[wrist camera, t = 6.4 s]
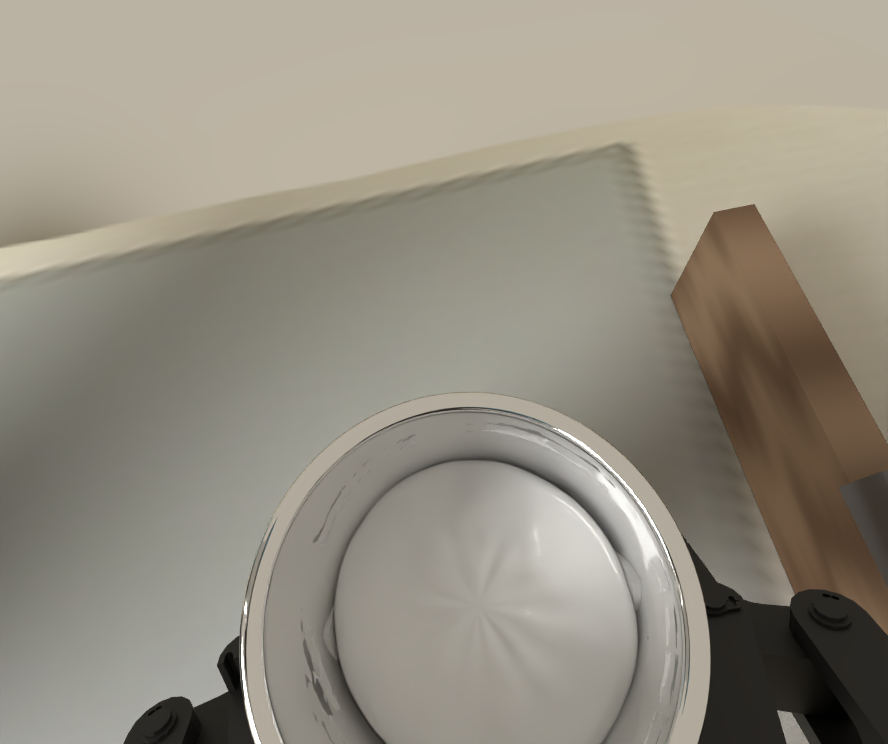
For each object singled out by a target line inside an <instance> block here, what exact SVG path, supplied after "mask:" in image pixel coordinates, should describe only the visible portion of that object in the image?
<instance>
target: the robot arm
mask: <svg viewBox="0 0 888 744" xmlns="http://www.w3.org/2000/svg"><path fill="white" fill-rule="evenodd" d="M682 537H683V539H684V541H685V543H686V545H687V548H688V550H689V552H690V555H691V557H692V560H693V563H694V566H695V568H696V572H697V575H698V578H699V581H700V585H701V589H702V593H703V597H704V601H705V606H706V612H707V618H708V625H709V632H710V645H711V681H710V694H709V703H708V709H707V715H706V720H705V725H704V730H703V734H702V738H701V742H700V744H786V740H785V737H784V733H783V730H782V726H781V723H780V719H779V716H778V712H777V710H780V711H786V712H792V714H793V716H794V717H795V719H796V721H797V723H798V724H799V726H800V728H801V729H802V731H803V733H804V735H805V736H806V738H807V740H808V741H809V743H810V744H888V635H887V634H886V633H885V632H884V631H883V629H882V628H881V627H880V626H879V625H878V624H877V623H876V622H875V620H874V619H873V618H872V617H871V616H870V615H869V614H868V613H867V612H866V611H865V610H864V609H863V608H862V607H861V606H859V605H858V604H857V603H856V602H855V601H853V600H851V599H849V598H847V597H845V596H843V595H841V594H838V593H835V592H831V591H827V590H820V589H808V590H804V591H801V592H798V593H797V594H796V595H795V596H793V597H792V599H791V604H790V607H789V606H778V605H767V604H759V603H753V602H749V601H746V600H743V598H742V597H741V596H740V595H739V594H737V593H736V592H735V591H734V590H733V589H731V588H729V587H727V586H725V585H722V584H720V583H717V581H716V580H715V579H714V577H713V576H712V575H711V573H710V572H709V570H708V569H707V568H706V566H705V565H704V564H703V562H702V561H701V560H700V558H699V557H698V556H697V554H696V553H695V551H694V550H693V549H692V547H691V546H690V545H689V543H687V541H686V539H685V538H684V536H683V535H682ZM614 550H615V549H614ZM615 552H616V551H615ZM616 554H617V556H618V558H619V561H620V563H621V565H622V568H623V571H624V574H625V577H626V580H627V583H628V586H629V589H630V593H631V596H632V600H633V603H634V607H635V612H636V604H637V583H636V581H635V579H634V577H633V575H632V574H631V572H630V570H629V569H628V567H627V566H626V564H625V563H624V561H623V560H622V559H621V557H620V556H619V555H618V553H617V552H616ZM325 638H326V641H327V643H328V645H329V647H330V649H331V651H332V653H333V655H334V657H335V659H336V660H337V659H338V658H339V655H338V650H337V643H336V635H335V624H334V608H333V610H332V613H331V616H330V619H329V622H328V625H327V629H326V633H325ZM239 639H240V635H239V636H238V637H236V638H235V639H234V640H233V641H232V642H231V643H230V644H228V645H227V647H226V648H225V649H224V651H223V652H222V654H221V655H220V657H219V661H218V664H217V667H218V669H219V671H220V673H221V675H222V677H223V680H224V682H225V684H226V686H227V688H228V690H229V691H228V692H226V693H224V694H222V695H221V696H219V697H216V698H214V699H212V700H210V701H208V702H205V703H203V704H201V705H199V706H197V707H194V708H193V706H192V704H191V702H190V700H188V699H186V698H184V697H171V698H169V699H166V700H164V701H161V702H159V703H157V704H156V705H155V706H153V707H152V708H150V709H149V710H147V711H146V712H145V713H144V714H143V715H142V716H141V717H140V718H139V719H138V720H137V721H136V722H135V724H134V726H133V727H132V729H131V730H130V732H129V733H128V735H127V737H126V739H125V742H124V744H254V741H253V738H252V735H251V731H250V728H249V724H248V720H247V715H246V711H245V706H244V700H243V694H242V686H241V677H240V660H239Z"/></svg>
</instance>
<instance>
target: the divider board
mask: <svg viewBox="0 0 888 744" xmlns="http://www.w3.org/2000/svg"><path fill="white" fill-rule="evenodd" d="M671 298H672V300H673V303H674V305H675V307H676V310H677V312H678V315H679V317H680V319H681V322H682V324H683V327H684V329H685V331H686V334H687V336H688V339H689V341H690V343H691V346H692V348H693V351H694V353H695V355H696V358H697V360H698V363H699V365H700V367H701V370H702V372H703V375H704V377H705V379H706V382H707V384H708V387H709V389H710V391H711V394H712V396H713V399H714V401H715V403H716V406H717V408H718V411H719V413H720V415H721V418H722V420H723V423H724V425H725V427H726V430H727V432H728V435H729V437H730V439H731V442H732V444H733V447H734V449H735V451H736V454H737V456H738V459H739V461H740V463H741V466H742V468H743V471H744V473H745V475H746V478H747V480H748V483H749V485H750V487H751V490H752V492H753V495H754V497H755V499H756V502H757V504H758V507H759V509H760V511H761V514H762V516H763V519H764V521H765V523H766V526H767V528H768V531H769V533H770V535H771V538H772V540H773V543H774V545H775V547H776V550H777V552H778V555H779V557H780V559H781V562H782V564H783V567H784V569H785V571H786V574H787V576H788V579H789V581H790V583H791V586H792V588H793V591H794V593H795V595H796V594H797V593H798V592H801V591H804V590H808V589H820V590H827V591H831V592H835V593H838V594H841V595H843V596H845V597H847V598H849V599H851V600H853V601H855V602H856V603H857V604H858V605H859V606H861V607H862V608H863V609H864V610H865V611H866V612H867V613H868V614H869V615H870V616H871V617H872V618H873V619H874V620H875V622H876V623H877V624H878V625H879V626H880V627H881V628H882V629H883V631H884V632H885V633H886V634H887V635H888V444H887V442H886V441H885V439H884V437H883V435H882V433H881V431H880V430H879V428H878V426H877V424H876V422H875V421H874V419H873V417H872V415H871V413H870V412H869V410H868V408H867V406H866V404H865V403H864V401H863V399H862V397H861V395H860V394H859V392H858V390H857V388H856V386H855V385H854V383H853V381H852V379H851V377H850V376H849V374H848V372H847V370H846V368H845V367H844V365H843V363H842V361H841V359H840V358H839V356H838V354H837V352H836V350H835V349H834V347H833V345H832V343H831V341H830V340H829V338H828V336H827V334H826V332H825V331H824V329H823V327H822V325H821V323H820V322H819V320H818V318H817V316H816V314H815V313H814V311H813V309H812V307H811V305H810V304H809V302H808V300H807V298H806V296H805V295H804V293H803V291H802V289H801V287H800V286H799V284H798V282H797V280H796V278H795V277H794V275H793V273H792V271H791V269H790V268H789V266H788V264H787V262H786V260H785V259H784V257H783V255H782V253H781V251H780V250H779V248H778V246H777V244H776V242H775V241H774V239H773V237H772V235H771V233H770V232H769V230H768V228H767V226H766V224H765V222H764V221H763V219H762V217H761V215H760V213H759V212H758V210H757V208H756V206H755V204H753V205H748V206H743V207H738V208H733V209H728V210H723V211H718V212H714V213H713V215H712V217H711V219H710V221H709V223H708V224H707V226H706V228H705V230H704V232H703V234H702V236H701V238H700V240H699V242H698V244H697V246H696V248H695V250H694V252H693V253H692V255H691V257H690V259H689V261H688V263H687V265H686V267H685V269H684V271H683V273H682V275H681V277H680V279H679V280H678V282H677V284H676V286H675V288H674V290H673V292H672V294H671Z"/></svg>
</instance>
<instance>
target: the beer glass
mask: <svg viewBox="0 0 888 744" xmlns="http://www.w3.org/2000/svg"><path fill="white" fill-rule="evenodd" d="M614 549H615V550H614ZM615 551H616V552H617V553H618V555H619V556H620V557H621V559H622V560H623V561H624V563H625V564H626V566H627V567H628V569H629V570H630V572H631V574H632V575H633V577H634V579H635V581H636V583H637V604H636V612H635V607H634V603H633V600H632V596H631V593H630V589H629V586H628V583H627V580H626V577H625V574H624V571H623V568H622V565H621V563H620V561H619V558H618V556H617V554H616V552H615ZM333 608H334V624H335V635H336V643H337V650H338V655H339V658H338V659H337V660H336V659H335V657H334V655H333V653H332V651H331V649H330V647H329V645H328V643H327V641H326V638H325V633H326V629H327V625H328V622H329V619H330V616H331V613H332V610H333ZM239 660H240V677H241V686H242V694H243V700H244V706H245V711H246V715H247V720H248V724H249V728H250V731H251V735H252V738H253V741H254V744H700V742H701V738H702V734H703V730H704V725H705V720H706V715H707V709H708V703H709V694H710V681H711V645H710V632H709V625H708V618H707V612H706V606H705V601H704V597H703V593H702V589H701V585H700V581H699V578H698V575H697V572H696V568H695V566H694V563H693V560H692V557H691V555H690V552H689V550H688V548H687V545H686V543H685V541H684V539H683V537H682V534H681V532H680V530H679V528H678V526H677V525H676V523H675V521H674V519H673V517H672V516H671V514H670V512H669V511H668V509H667V507H666V506H665V504H664V503H663V501H662V500H661V498H660V497H659V495H658V494H657V493H656V491H655V490H654V489H653V487H652V486H651V485H650V483H649V482H648V481H647V480H646V479H645V477H644V476H643V475H642V474H641V473H640V472H639V470H638V469H637V468H636V467H635V466H634V465H633V464H632V463H631V462H630V461H629V460H628V459H627V458H626V457H625V456H624V455H623V454H622V453H621V452H620V451H618V450H617V449H616V448H615V447H614V446H613V445H611V444H610V443H609V442H608V441H606V440H605V439H604V438H602V437H601V436H600V435H598V434H597V433H596V432H594V431H593V430H591V429H590V428H588V427H586V426H585V425H583V424H582V423H580V422H578V421H576V420H575V419H573V418H571V417H569V416H567V415H565V414H563V413H561V412H559V411H556V410H554V409H552V408H549V407H547V406H544V405H541V404H538V403H536V402H532V401H529V400H526V399H522V398H518V397H513V396H508V395H502V394H495V393H485V392H454V393H443V394H436V395H431V396H426V397H421V398H417V399H413V400H410V401H407V402H403V403H401V404H398V405H395V406H392V407H390V408H388V409H385V410H383V411H381V412H379V413H377V414H375V415H373V416H371V417H369V418H367V419H365V420H363V421H362V422H360V423H358V424H357V425H355V426H354V427H352V428H351V429H349V430H348V431H346V432H345V433H343V434H342V435H341V436H339V437H338V438H337V439H335V440H334V441H333V442H332V443H331V444H329V445H328V446H327V447H326V448H325V449H324V450H323V451H322V452H321V453H319V454H318V455H317V456H316V457H315V458H314V459H313V460H312V462H311V463H310V464H309V465H308V466H307V467H306V468H305V469H304V470H303V472H302V473H301V474H300V475H299V476H298V478H297V479H296V480H295V482H294V483H293V484H292V486H291V487H290V488H289V490H288V491H287V493H286V494H285V496H284V497H283V499H282V500H281V502H280V503H279V505H278V507H277V509H276V510H275V512H274V514H273V516H272V518H271V519H270V521H269V523H268V525H267V527H266V530H265V532H264V534H263V536H262V539H261V541H260V544H259V546H258V549H257V551H256V554H255V557H254V560H253V563H252V567H251V570H250V573H249V577H248V581H247V585H246V590H245V595H244V601H243V606H242V614H241V624H240V639H239Z"/></svg>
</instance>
